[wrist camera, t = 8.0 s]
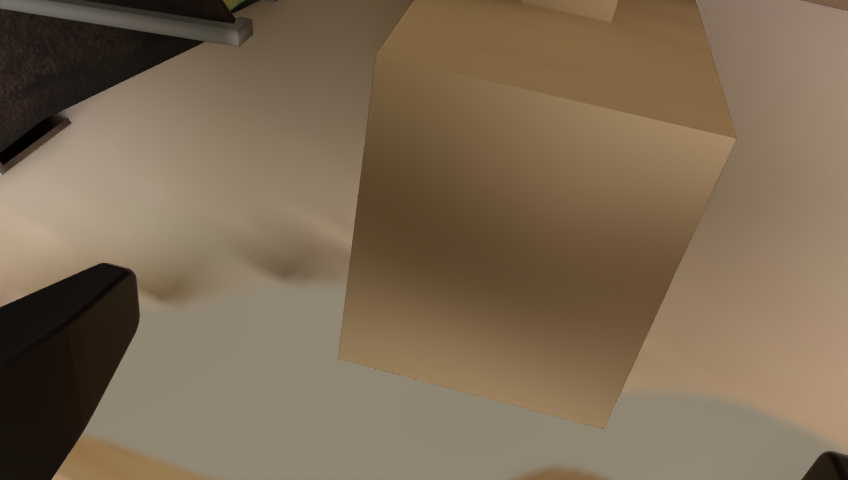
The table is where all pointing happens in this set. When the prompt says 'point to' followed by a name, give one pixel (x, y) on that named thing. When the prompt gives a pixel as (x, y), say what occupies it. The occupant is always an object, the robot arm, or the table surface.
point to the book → (93, 52)
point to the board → (831, 3)
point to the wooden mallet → (530, 194)
